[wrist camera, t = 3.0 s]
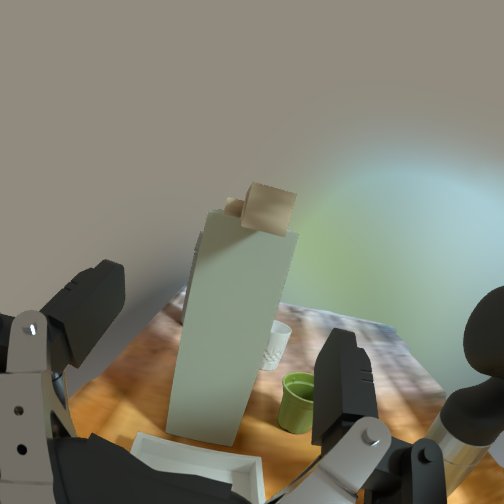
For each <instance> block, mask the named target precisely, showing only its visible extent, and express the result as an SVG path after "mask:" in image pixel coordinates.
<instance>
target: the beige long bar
mask: <svg viewBox="0 0 504 504" xmlns="http://www.w3.org/2000/svg"><path fill="white" fill-rule="evenodd" d="M295 199H296V194H295V193H292V192H288V191H284V190H281V189H277V188H274V187H269V186H266V185H262V184H259V183H255V182H252V184H251V186H250V188H249V190H248V191H247V194H246V198H245V201H242V200H238V199H234V198H230V197H228V199H227V202H226V206H225V210H224V214H227V215H231V216H235V217H239V218H240V220H241V226H242V227H246V228H250V229H254V230H258V231H262V232H266V233H269V234H273V235H277V236H281V237H285V236H286V233H287V229H288V225H289V221H290V218H291V214H292V210H293V206H294V202H295Z"/></svg>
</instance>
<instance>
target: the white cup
mask: <svg viewBox="0 0 504 504" xmlns="http://www.w3.org/2000/svg"><path fill="white" fill-rule="evenodd" d="M291 332H292V330H291V328H290V327H289V326H287V325H286V324H284V323H282V322H279V321H276V320H274V322H273V325H272V329H271V332H270V335H269V338H268V341H267V345H266V348H265V351H264V354H263V357H262V360H261V363H260V367H259V369H261V370H266V371H270V370H274V369H276V368H277V366H278V363H279V361H280V358H281V357H282V354H283V352H284V350H285V347H286V345H287V342H288V339H289V337H290V334H291Z"/></svg>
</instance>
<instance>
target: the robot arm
mask: <svg viewBox="0 0 504 504" xmlns="http://www.w3.org/2000/svg"><path fill="white" fill-rule="evenodd" d="M124 302H125V277H124V267H123V265H121V264H118V263H115V262H113V261H110V260H106V259H105V260H103V261H102V262H100V263H99V264H98V265H97V266H96V267H95V268H94V269H93V268H89V269H86V270H84V271H82V272H80V273H78V274H77V275H76V276H75V277H74V278H73V279H72V280H71V282H69V283H68V284H67V285H66V286H65V287H64V289H61V290H60V291H59V292H58V293H57V294H56V295H55V296H54V297H53V298H52V299H51V300H50V301H49V302H48V303H47V304H46V305H45V306H44V307H43V308H42V309H41V310H40V311H39V312H38V311H34V310H30V311H25V312H22V313H20V314H19V315H18V316H16V317H12V316H8V315H3V314H0V504H252V503H251V502H250V501H248V500H247V499H246V498H244V497H243V496H241V495H239V494H238V493H236V492H234V491H231V489H232V484H231V483H226V482H222V481H218V480H214V479H210V478H206V477H203V476H199V475H195V474H183V473H173V472H164V471H158V470H155V469H153V468H151V467H149V466H148V465H146V464H145V463H144V462H142V461H141V460H139V459H138V458H136V457H135V456H134V455H132V454H131V453H129V452H128V451H127V450H125V449H124V448H122V447H120V446H118V445H116V444H114V443H112V442H110V441H107V440H105V439H103V438H101V437H99V436H97V435H96V434H94V433H91V435H90V437H89V439H87V438H80V437H77V434H76V430H75V427H74V424H73V422H72V419H71V415H70V410H69V402H68V394H67V385H66V375H65V371H64V369H65V367H66V366H67V365H68V364H70V365H72V366H74V367H76V368H79V367H80V365H81V364H82V363H83V361H84V360H85V358H86V357H87V356H88V354H89V353H90V351H91V350H92V349H93V347H94V346H95V345H96V343H97V342H98V340H99V339H100V338H101V337H102V335H103V334H104V333H105V331H106V330H107V328H108V327H109V326H110V325H111V323H112V322H113V321H114V319H115V318H116V317H117V315H118V314H119V313H120V312H121V310H122V308H123V305H124ZM463 347H464V353H465V357H466V359H467V361H468V363H469V364H470V365H471V367H472V368H474V369H475V370H476V371H478V372H480V373H482V374H485V375H489V376H492V377H491V378H490V379H488V380H487V381H485V382H483V383H481V384H479V385H476V386H472V387H468V388H463V389H459V390H457V391H455V392H453V393H452V394H451V395H450V396H449V398H448V399H447V401H446V402H445V404H444V406H443V408H442V409H441V411H440V413H439V414H438V416H437V417H436V419H435V421H434V422H433V424H432V425H431V427H430V428H429V430H428V432H427V433H426V435H425V436H424V437H423V438H422V439H419V440H418V441H416V442H415V443H414V444H410V443H407V442H405V441H402V440H399V439H397V438H394V437H392V436H391V433H390V430H389V428H388V427H387V426H386V424H385V423H383V422H382V421H381V420H379V417H378V410H377V402H376V395H375V388H374V383H373V375H372V374H371V372H372V368H371V363H370V359H369V357H368V355H367V354H366V352H365V350H364V349H363V348H359V347H357V343H356V336H355V333H354V332H351V331H347V330H342V329H338V328H334V329H333V330H332V331H331V333H330V335H329V337H328V339H327V340H326V342H325V344H324V346H323V348H322V349H321V351H320V353H319V355H318V357H317V359H316V363H315V367H314V397H313V423H312V441H311V445H317V446H321V454H320V455H319V456H318V457H317V458H316V459H315V460H314V461H313V462H312V463H311V464H310V465H309V466H308V467H307V468H306V469H304V470H303V471H302V472H301V473H300V474H299V475H298V476H297V477H296V478H295V479H294V480H293V481H291V482H290V483H289V484H288V485H287V486H286V487H285V488H283V489H282V490H281V491H280V492H278V493H277V494H276V495H274V496H273V497H272V498H270V499H269V500H268V501H267V502H265V503H264V504H355V503H356V501H357V499H358V496H357V495H356V494H357V492H358V490H359V489H360V488H364V489H365V492H364V504H447V498H448V497H449V495H450V494H451V493H452V492H453V491H454V490H455V489H456V488H457V487H458V486H459V485H460V484H461V483H462V482H463V480H464V479H465V478H466V477H467V476H468V475H469V474H470V472H471V471H472V470H473V469H474V468H475V466H476V465H477V464H478V463H479V461H480V460H481V459H482V457H483V456H484V455H485V454H486V452H487V451H488V450H489V448H490V447H491V445H492V444H493V443H494V441H495V440H496V438H497V437H498V436H499V434H500V433H501V432H502V431H503V430H504V286H501V287H499V288H496V289H494V290H492V291H491V292H489V293H488V294H487V295H486V296H485V297H483V299H482V300H481V301H480V302H479V303H478V304H477V306H476V308H475V309H474V310H473V312H472V313H471V316H470V317H469V319H468V322H467V324H466V327H465V331H464V339H463Z"/></svg>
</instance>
